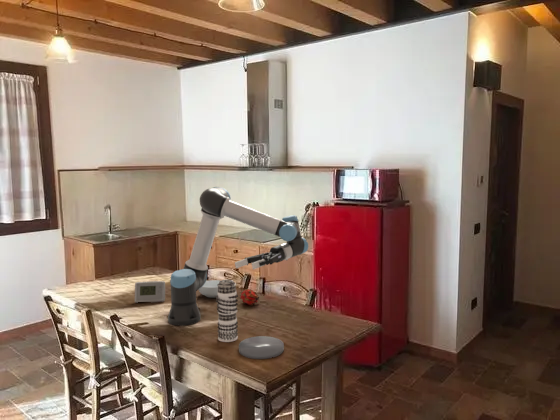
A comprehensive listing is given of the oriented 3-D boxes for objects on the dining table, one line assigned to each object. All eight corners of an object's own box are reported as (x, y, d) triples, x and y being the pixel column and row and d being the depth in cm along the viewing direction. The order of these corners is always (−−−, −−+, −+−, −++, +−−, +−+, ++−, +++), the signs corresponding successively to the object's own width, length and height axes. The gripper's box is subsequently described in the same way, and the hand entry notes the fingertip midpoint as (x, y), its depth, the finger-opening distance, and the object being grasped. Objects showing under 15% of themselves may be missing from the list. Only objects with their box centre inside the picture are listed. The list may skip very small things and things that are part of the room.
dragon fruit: (242, 303, 247) (257, 311, 239) (233, 297, 241) (249, 305, 233) (249, 289, 249) (265, 297, 241) (241, 283, 243) (257, 291, 235)
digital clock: (133, 303, 244) (132, 284, 243) (139, 298, 253) (138, 279, 252) (162, 304, 243) (161, 284, 242) (168, 298, 252) (167, 280, 251)
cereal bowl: (230, 298, 252) (230, 285, 251) (200, 301, 247) (199, 288, 246) (225, 290, 268) (224, 278, 267) (196, 292, 263) (196, 280, 262)
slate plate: (237, 359, 173) (237, 354, 173) (239, 341, 191) (239, 336, 190) (285, 358, 174) (285, 353, 174) (282, 340, 192) (282, 335, 191)
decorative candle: (238, 333, 200) (237, 277, 197) (239, 341, 190) (238, 283, 188) (217, 334, 198) (215, 278, 196) (217, 343, 189) (215, 284, 187)
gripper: (299, 261, 205) (262, 275, 192) (266, 260, 224) (230, 272, 211) (295, 245, 204) (258, 258, 191) (263, 245, 224) (227, 257, 211)
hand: (243, 265), depth 201 cm, fingers open, 13 cm apart
